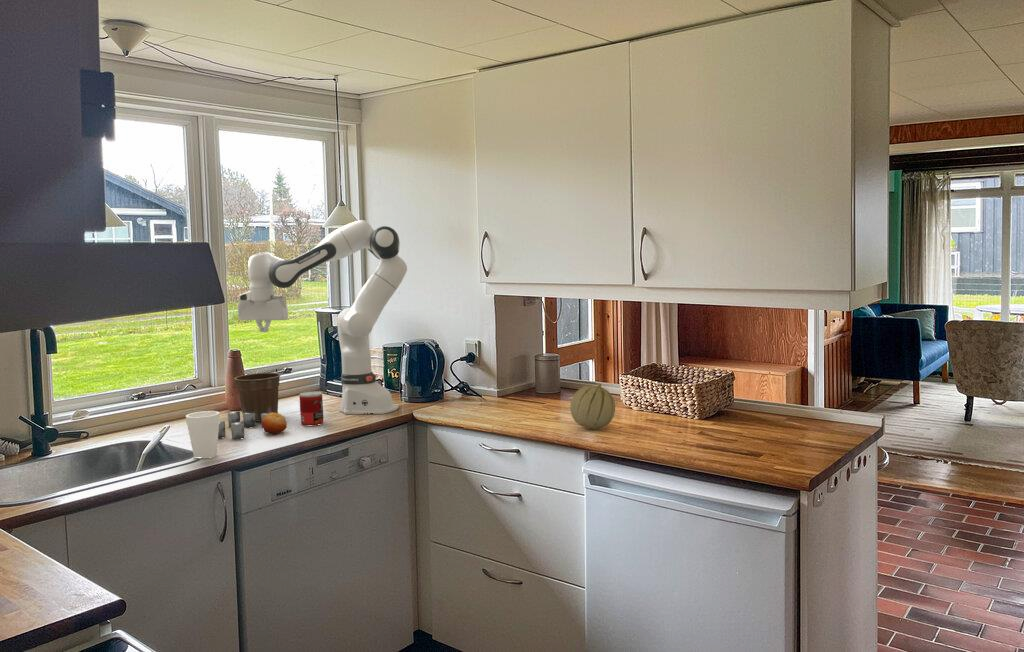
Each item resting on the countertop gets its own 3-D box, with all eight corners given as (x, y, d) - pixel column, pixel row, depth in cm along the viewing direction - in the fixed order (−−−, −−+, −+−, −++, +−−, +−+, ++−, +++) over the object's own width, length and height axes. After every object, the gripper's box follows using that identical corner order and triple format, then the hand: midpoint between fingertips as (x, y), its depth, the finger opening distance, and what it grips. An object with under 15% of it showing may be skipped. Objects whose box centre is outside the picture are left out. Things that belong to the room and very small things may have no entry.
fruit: (270, 425, 271) (277, 406, 268) (285, 438, 268) (293, 419, 266) (252, 430, 264) (260, 411, 261) (268, 443, 261) (276, 424, 258)
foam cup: (182, 460, 233) (179, 417, 232) (199, 452, 242) (196, 410, 241) (211, 460, 231) (209, 417, 230) (227, 452, 241) (225, 411, 239)
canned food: (318, 426, 273) (316, 395, 272) (296, 426, 275) (295, 395, 274) (327, 421, 281) (325, 391, 279) (306, 421, 282) (305, 391, 281)
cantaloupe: (561, 429, 259) (560, 384, 258) (592, 421, 268) (591, 378, 267) (593, 436, 248) (593, 389, 246) (625, 428, 257) (624, 383, 256)
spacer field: (275, 426, 275) (275, 412, 275) (239, 439, 257) (238, 425, 256) (235, 424, 281) (234, 410, 280) (196, 437, 262) (195, 422, 261)
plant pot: (227, 422, 285) (224, 378, 283) (260, 413, 299) (257, 371, 297) (260, 425, 277) (257, 380, 276) (292, 416, 291) (290, 373, 290)
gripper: (290, 294, 295) (292, 331, 296) (244, 295, 301) (247, 330, 303) (280, 295, 289) (282, 333, 290) (234, 296, 295) (236, 332, 297)
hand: (264, 331), depth 296 cm, fingers closed
